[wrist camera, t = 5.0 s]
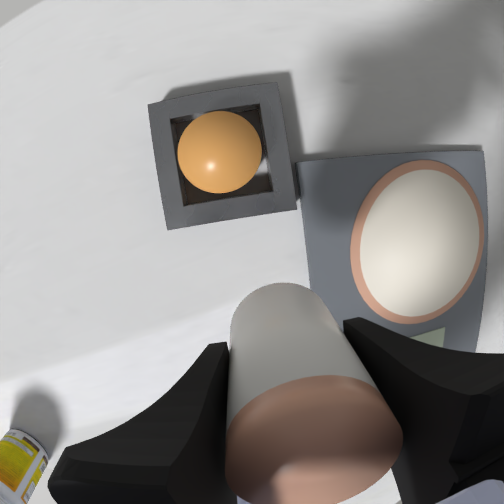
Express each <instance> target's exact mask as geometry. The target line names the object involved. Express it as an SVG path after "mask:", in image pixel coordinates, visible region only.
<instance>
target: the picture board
mask: <svg viewBox="0 0 504 504" xmlns="http://www.w3.org/2000/svg"><path fill="white" fill-rule="evenodd" d="M295 167H296V173H297V180H298V188H299V195H300V202H301V210H302V218H303V226H304V234H305V242H306V251H307V260H308V269H309V278H310V288H311V290H312V291H313V292H314V293H316V294H317V295H318V296H319V297H320V298H321V299H322V301H323V302H324V304H325V305H326V307H327V308H328V310H329V311H330V313H331V315H332V316H333V318H334V319H335V321H336V322H337V324H338V325H339V327H340V329H341V330H342V332H343V320H347V319H352V318H356V317H361V318H364V319H367V320H369V321H371V322H374V323H376V324H378V325H380V326H383V327H385V328H387V329H389V330H392V331H394V332H396V333H399V334H401V335H404V336H406V337H409V338H412V339H415V340H418V341H421V342H424V343H427V344H430V345H434V346H438V347H443V348H447V349H452V350H458V351H465V352H473V353H475V351H476V346H477V341H478V335H479V329H480V323H481V316H482V308H483V300H484V291H485V280H486V266H487V244H488V206H487V185H486V171H485V160H484V151H437V152H412V153H394V154H378V155H365V156H353V157H342V158H332V159H322V160H313V161H304V162H296V163H295Z"/></svg>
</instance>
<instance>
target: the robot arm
mask: <svg viewBox="0 0 504 504" xmlns="http://www.w3.org/2000/svg"><path fill="white" fill-rule="evenodd" d="M343 333H344V335H345V336H346V338H347V340H348V341H349V343H350V344H351V346H352V348H353V349H354V351H355V352H356V354H357V356H358V357H359V359H360V360H361V362H362V364H363V365H364V367H365V368H366V370H367V372H368V373H369V375H370V377H371V378H372V380H373V381H374V383H375V385H376V386H377V388H378V390H379V391H380V393H381V395H382V396H383V398H384V400H385V401H386V403H387V404H388V406H389V408H390V409H391V411H392V413H393V414H394V416H395V418H396V419H397V421H398V423H399V425H400V426H401V429H402V432H403V444H402V448H401V451H400V454H399V456H398V458H397V460H396V461H395V463H394V464H393V466H392V467H391V469H392V472H393V475H394V478H395V481H396V484H397V487H398V490H399V493H400V497H401V500H402V504H504V354H492V353H473V352H465V351H458V350H452V349H447V348H443V347H438V346H434V345H430V344H427V343H424V342H421V341H418V340H415V339H412V338H409V337H406V336H404V335H401V334H399V333H396V332H394V331H392V330H389V329H387V328H385V327H383V326H380V325H378V324H376V323H374V322H371V321H369V320H367V319H364V318H361V317H356V318H352V319H347V320H343ZM228 369H229V350H228V346H227V342H220V343H213V344H209V345H208V346H207V347H206V348H205V350H204V351H203V352H202V353H201V355H200V356H199V357H198V358H197V360H196V361H195V362H194V364H193V365H192V366H191V367H190V368H189V370H188V371H187V372H186V373H185V374H184V375H183V376H182V377H181V378H180V379H179V380H178V382H177V383H176V384H175V385H174V386H173V387H172V388H171V389H170V390H169V391H168V392H167V393H165V394H164V395H163V396H162V397H161V398H160V399H158V400H157V401H156V402H155V403H153V404H152V405H151V406H150V407H148V408H147V409H145V410H144V411H142V412H141V413H139V414H138V415H136V416H135V417H133V418H132V419H130V420H129V421H127V422H125V423H123V424H122V425H120V426H118V427H116V428H114V429H112V430H110V431H108V432H106V433H104V434H101V435H99V436H97V437H94V438H92V439H89V440H86V441H83V442H80V443H78V444H75V445H72V446H68V447H66V448H65V450H64V451H63V453H62V455H61V457H60V459H59V461H58V463H57V465H56V466H55V468H54V470H53V472H52V474H51V476H50V478H49V480H48V489H49V491H50V494H51V496H52V497H53V499H54V500H55V501H56V502H57V504H251V503H248V502H246V501H245V500H243V499H241V498H240V497H239V496H237V495H236V494H235V493H234V492H233V491H232V490H231V489H230V487H229V485H228V483H227V481H226V477H225V449H226V419H227V393H228Z"/></svg>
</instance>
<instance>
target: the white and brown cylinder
mask: <svg viewBox="0 0 504 504" xmlns="http://www.w3.org/2000/svg"><path fill="white" fill-rule="evenodd" d="M402 444H403V432H402V429H401V426H400V425H399V423H398V421H397V419H396V418H395V416H394V414H393V413H392V411H391V409H390V408H389V406H388V404H387V403H386V401H385V400H384V398H383V396H382V395H381V393H380V391H379V390H378V388H377V386H376V385H375V383H374V381H373V380H372V378H371V377H370V375H369V373H368V372H367V370H366V368H365V367H364V365H363V364H362V362H361V360H360V359H359V357H358V356H357V354H356V352H355V351H354V349H353V348H352V346H351V344H350V343H349V341H348V340H347V338H346V336H345V335H344V333H343V332H342V330H341V329H340V327H339V325H338V324H337V322H336V321H335V319H334V318H333V316H332V315H331V313H330V311H329V310H328V308H327V307H326V305H325V304H324V302H323V301H322V299H321V298H320V297H319V296H318V295H317V294H316V293H314V292H313V291H312V290H310V289H308V288H306V287H304V286H301V285H298V284H293V283H274V284H270V285H266V286H264V287H261V288H259V289H257V290H255V291H253V292H252V293H250V294H249V295H248V296H247V297H246V298H244V299H243V301H242V302H241V303H240V304H239V306H238V307H237V309H236V310H235V312H234V314H233V317H232V321H231V326H230V347H229V369H228V393H227V419H226V449H225V477H226V481H227V483H228V485H229V487H230V489H231V490H232V491H233V492H234V493H235V494H236V495H237V496H239V497H240V498H241V499H243V500H245V501H246V502H248V503H251V504H336V503H339V502H342V501H344V500H347V499H349V498H351V497H353V496H355V495H357V494H359V493H361V492H363V491H364V490H366V489H367V488H369V487H370V486H372V485H373V484H375V483H376V482H377V481H378V480H379V479H381V478H382V477H383V476H384V475H385V474H386V473H387V472H388V471H389V469H390V468H391V467H392V466H393V464H394V463H395V461H396V460H397V458H398V456H399V454H400V451H401V448H402Z"/></svg>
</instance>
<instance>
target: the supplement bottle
mask: <svg viewBox="0 0 504 504" xmlns="http://www.w3.org/2000/svg"><path fill="white" fill-rule="evenodd" d="M47 464H48V456H47V454H46V452H45V450H44V449H43V448H42V446H41V445H40V444H39V443H38V442H37V441H36V440H35V439H33V438H32V437H31V436H29V435H28V434H26V433H24V432H22V431H20V430H16V429H12V430H9V431H8V432H7V433H6V434H5V436H4V437H3V438H2V440H1V441H0V504H27V503H28V501H29V499H30V497H31V495H32V493H33V491H34V489H35V487H36V485H37V483H38V481H39V479H40V478H41V476H42V474H43V472H44V470H45V468H46V466H47Z"/></svg>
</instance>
